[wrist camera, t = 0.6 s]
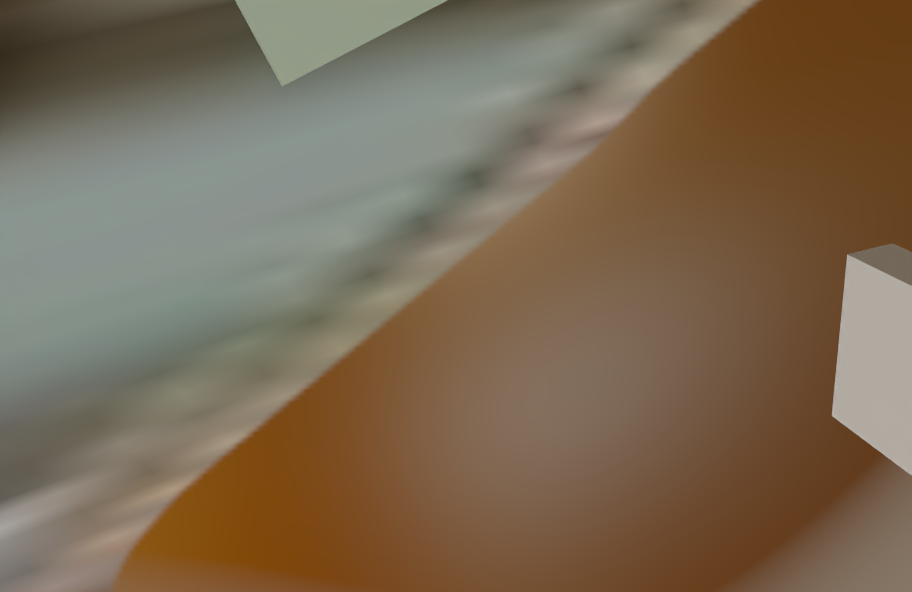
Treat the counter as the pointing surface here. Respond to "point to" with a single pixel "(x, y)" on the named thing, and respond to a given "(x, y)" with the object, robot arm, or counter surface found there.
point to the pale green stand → (321, 28)
